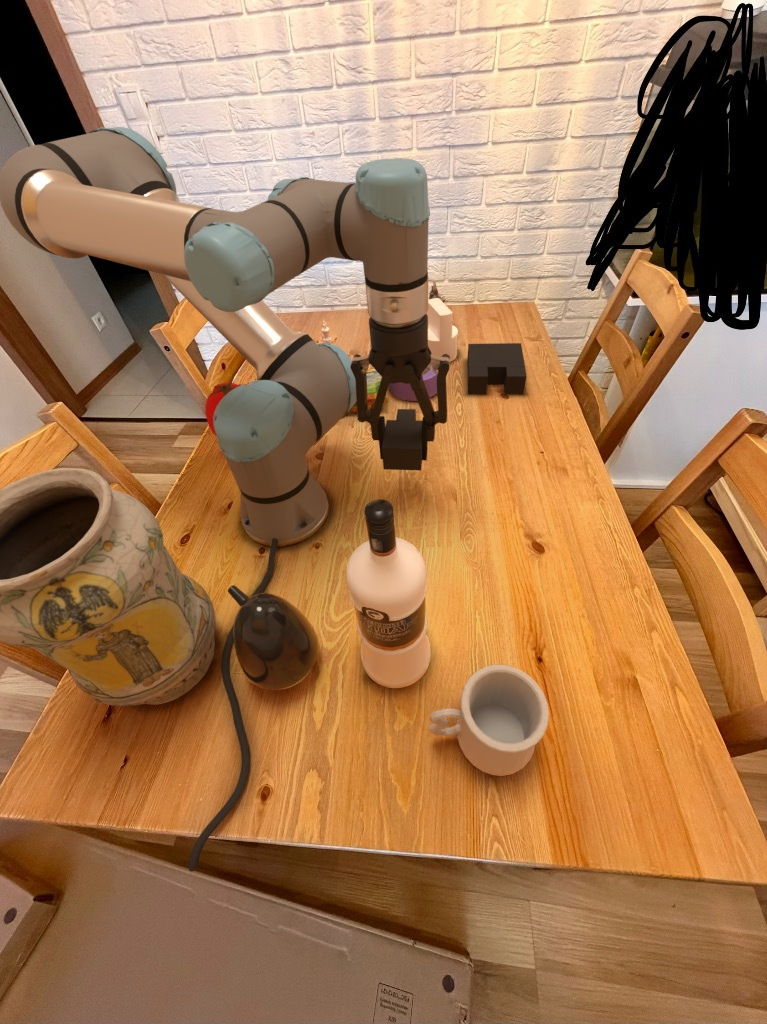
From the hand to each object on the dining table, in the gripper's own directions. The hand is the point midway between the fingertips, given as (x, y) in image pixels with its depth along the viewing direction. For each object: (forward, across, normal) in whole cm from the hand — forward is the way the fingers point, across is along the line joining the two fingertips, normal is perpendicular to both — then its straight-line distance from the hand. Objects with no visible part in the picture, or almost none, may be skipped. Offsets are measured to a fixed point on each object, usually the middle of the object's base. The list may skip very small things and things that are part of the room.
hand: (404, 454), depth 75 cm
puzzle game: (+10, -17, +29) cm, 35 cm away
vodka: (+10, +1, -30) cm, 32 cm away
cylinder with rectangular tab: (+10, +4, +49) cm, 50 cm away
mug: (+10, +12, -39) cm, 42 cm away
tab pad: (0, 0, +1) cm, 2 cm away
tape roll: (+10, -1, +35) cm, 36 cm away
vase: (+10, -31, -33) cm, 46 cm away
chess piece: (+10, -23, +47) cm, 53 cm away
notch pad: (+10, +17, +39) cm, 44 cm away
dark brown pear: (+10, -14, -32) cm, 36 cm away
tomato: (+10, -35, +15) cm, 39 cm away
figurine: (+10, +3, +62) cm, 63 cm away
